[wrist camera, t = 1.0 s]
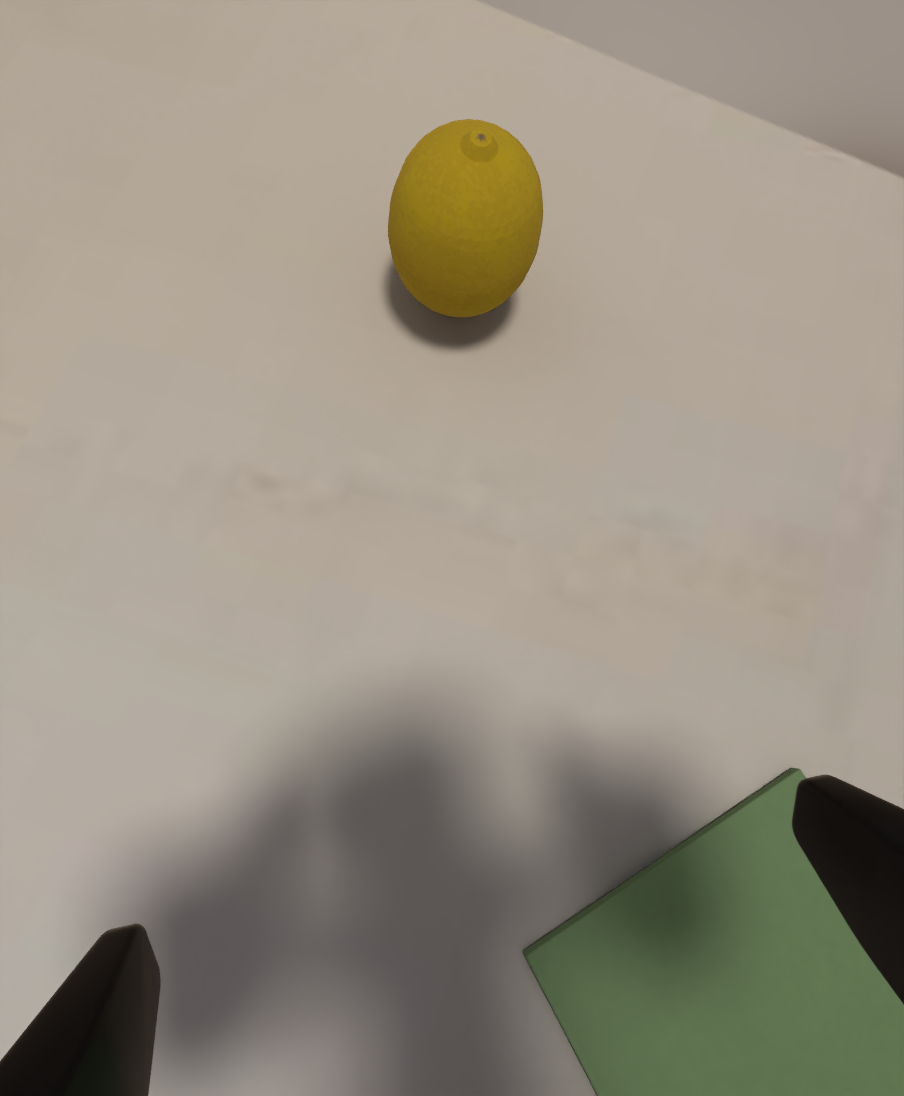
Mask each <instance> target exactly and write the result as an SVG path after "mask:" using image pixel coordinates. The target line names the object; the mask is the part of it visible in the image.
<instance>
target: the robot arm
mask: <svg viewBox="0 0 904 1096" xmlns="http://www.w3.org/2000/svg"><path fill="white" fill-rule="evenodd" d="M792 829H793V833H794V835H795V838H796V840H797V842H798V844H799V845H800V847H801V849H802V850H803V852H804V854H805V855H806V857H807V858H808V860H809V862H810V863H811V865H812V867H813V868H814V870H815V872H816V873H817V875H818V877H819V878H820V880H821V882H822V883H823V885H824V886H825V888H826V890H827V891H828V893H829V895H830V896H831V898H832V900H833V901H834V903H835V905H836V906H837V908H838V910H839V911H840V913H841V914H842V916H843V918H844V919H845V921H846V923H847V924H848V926H849V928H850V929H851V931H852V932H853V934H854V935H855V937H856V938H857V940H858V942H859V943H860V945H861V946H862V948H863V949H864V950H865V952H866V953H867V955H868V956H869V958H870V959H871V960H872V962H873V963H874V965H875V966H876V967H877V969H878V970H879V972H880V973H881V974H882V976H883V977H884V978H885V980H886V981H887V982H888V984H889V985H890V987H891V988H892V989H893V991H894V992H895V993H896V995H897V996H898V998H899V999H900V1000H901V1002H902V1003H903V1004H904V809H902V808H900V807H898V806H896V805H894V804H892V803H889V802H887V801H885V800H883V799H881V798H879V797H876V796H874V795H872V794H870V793H868V792H866V791H864V790H861V789H859V788H857V787H855V786H853V785H851V784H848V783H846V782H844V781H842V780H840V779H838V778H836V777H833V776H830V775H820V776H815V777H810V778H806V779H803V780H801V781H800V782H799V784H798V785H797V790H796V796H795V803H794V809H793V816H792ZM160 980H161V979H160V970H159V966H158V963H157V960H156V957H155V954H154V952H153V949H152V946H151V944H150V941H149V938H148V935H147V933H146V930H145V928H144V927H143V926H142V925H140V924H132V925H128V926H123V927H118V928H114V929H110V930H108V931H106V932H105V933H104V934H103V935H101V937H100V938H99V939H98V940H97V941H96V943H95V944H94V945H93V946H92V947H91V949H90V950H89V951H88V952H87V954H86V955H85V956H84V957H83V959H82V960H81V961H80V962H79V964H78V965H77V966H76V967H75V969H74V970H73V971H72V972H71V974H70V975H69V976H68V977H67V979H66V980H65V981H64V982H63V984H62V985H61V986H60V987H59V989H58V990H57V991H56V992H55V994H54V995H53V996H52V997H51V999H50V1000H49V1001H48V1002H47V1004H46V1005H45V1006H44V1007H43V1009H42V1010H41V1011H40V1012H39V1014H38V1015H37V1016H36V1017H35V1019H34V1020H33V1021H32V1022H31V1024H30V1025H29V1026H28V1027H27V1029H26V1030H25V1031H24V1032H23V1033H22V1035H21V1036H20V1037H19V1038H18V1040H17V1041H16V1042H15V1043H14V1045H13V1046H12V1047H11V1048H10V1050H9V1051H8V1052H7V1053H6V1055H5V1056H4V1057H3V1058H2V1060H1V1061H0V1096H148V1093H149V1084H150V1075H151V1066H152V1058H153V1049H154V1040H155V1031H156V1022H157V1013H158V1004H159V995H160Z"/></svg>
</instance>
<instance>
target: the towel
mask: <svg viewBox="0 0 904 1096" xmlns="http://www.w3.org/2000/svg"><path fill="white" fill-rule="evenodd" d="M803 779H806V778H805V776H804V775H803V773H802V771H801V770H800V769H796V768H791V769H790V770H789V771H787V772H786V773H784V774H783V775H781V776H780V777H778V778H777V779H775V780H774V781H772V782H771V783H769V784H768V785H766V786H765V787H764V788H762V789H761V790H759V791H758V792H756V793H755V794H753V795H752V796H750V797H749V798H747V799H746V800H744V801H743V802H742V803H740V804H739V805H737V806H736V807H734V808H733V809H731V810H730V811H728V812H727V813H725V814H724V815H722V816H721V817H720V818H718V819H717V820H715V821H714V822H712V823H711V824H709V825H708V826H706V827H705V828H703V829H702V830H700V831H699V832H697V833H696V834H695V835H693V836H692V837H690V838H689V839H687V840H686V841H684V842H683V843H681V844H680V845H678V846H677V847H675V848H674V849H673V850H671V851H670V852H668V853H667V854H665V855H664V856H662V857H661V858H659V859H658V860H656V861H655V862H653V863H652V864H650V865H649V866H648V867H646V868H645V869H643V870H642V871H640V872H639V873H637V874H636V875H634V876H633V877H631V878H630V879H628V880H627V881H626V882H624V883H623V884H621V885H620V886H618V887H617V888H615V889H614V890H612V891H611V892H609V893H608V894H606V895H605V896H604V897H602V898H601V899H599V900H598V901H596V902H595V903H593V904H592V905H590V906H589V907H587V908H586V909H584V910H583V911H581V912H580V913H579V914H577V915H576V916H574V917H573V918H571V919H570V920H568V921H567V922H565V923H564V924H562V925H561V926H559V927H558V928H557V929H555V930H554V931H552V932H551V933H549V934H548V935H546V936H545V937H543V938H542V939H540V940H539V941H537V942H536V943H535V944H533V945H532V946H530V947H529V948H527V949H526V950H524V951H523V953H524V955H525V957H526V959H527V961H528V963H529V965H530V967H531V969H532V971H533V973H534V974H535V976H536V978H537V980H538V982H539V984H540V986H541V988H542V990H543V992H544V994H545V996H546V998H547V1000H548V1001H549V1003H550V1005H551V1007H552V1009H553V1011H554V1013H555V1015H556V1017H557V1019H558V1021H559V1023H560V1025H561V1027H562V1028H563V1030H564V1032H565V1034H566V1036H567V1038H568V1040H569V1042H570V1044H571V1046H572V1048H573V1050H574V1052H575V1053H576V1055H577V1057H578V1059H579V1061H580V1063H581V1065H582V1067H583V1069H584V1071H585V1073H586V1075H587V1077H588V1079H589V1080H590V1082H591V1084H592V1086H593V1088H594V1090H595V1092H596V1094H597V1096H904V1004H903V1003H902V1002H901V1000H900V999H899V998H898V996H897V995H896V993H895V992H894V991H893V989H892V988H891V987H890V985H889V984H888V982H887V981H886V980H885V978H884V977H883V976H882V974H881V973H880V972H879V970H878V969H877V967H876V966H875V965H874V963H873V962H872V960H871V959H870V958H869V956H868V955H867V953H866V952H865V950H864V949H863V948H862V946H861V945H860V943H859V942H858V940H857V938H856V937H855V935H854V934H853V932H852V931H851V929H850V928H849V926H848V924H847V923H846V921H845V919H844V918H843V916H842V914H841V913H840V911H839V910H838V908H837V906H836V905H835V903H834V901H833V900H832V898H831V896H830V895H829V893H828V891H827V890H826V888H825V886H824V885H823V883H822V882H821V880H820V878H819V877H818V875H817V873H816V872H815V870H814V868H813V867H812V865H811V863H810V862H809V860H808V858H807V857H806V855H805V854H804V852H803V850H802V849H801V847H800V845H799V844H798V842H797V840H796V838H795V835H794V833H793V829H792V816H793V809H794V803H795V796H796V790H797V785H798V784H799V782H800V781H801V780H803Z"/></svg>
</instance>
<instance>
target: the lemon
mask: <svg viewBox="0 0 904 1096" xmlns="http://www.w3.org/2000/svg"><path fill="white" fill-rule="evenodd" d="M542 220H543V200H542V191H541V183H540V178H539V175H538V173H537V170H536V168H535V165H534V163H533V161H532V158H531V156H530V155H529V154H528V152H527V151H526V149H525V148H524V147H523V145H522V144H521V143H520V142H519V141H518V140H517V139H516V138H515V137H514V136H512V135H511V134H510V133H509V132H508V131H506V130H504V129H502V128H500V127H499V126H497V125H495V124H492V123H488V122H485V121H481V120H471V119H467V120H458V121H453V122H450V123H447V124H445V125H442V126H440V127H437V128H436V129H434V130H433V131H431V132H430V133H428V134H427V135H425V136H424V137H423V138H422V139H421V140H420V141H419V142H418V143H417V145H416V146H415V147H414V148H413V149H412V151H411V152H410V153H409V155H408V156H407V158H406V160H405V162H404V164H403V166H402V169H401V171H400V173H399V176H398V178H397V181H396V183H395V186H394V189H393V193H392V197H391V202H390V212H389V222H388V237H389V244H390V249H391V254H392V259H393V263H394V266H395V268H396V270H397V272H398V274H399V276H400V278H401V280H402V282H403V284H404V285H405V287H406V288H407V289H408V291H409V292H410V293H411V294H412V295H413V296H414V297H415V299H417V300H418V301H419V302H420V303H422V304H423V305H425V306H426V307H427V308H429V309H430V310H433V311H435V312H438V313H440V314H442V315H447V316H452V317H473V316H476V315H479V314H483V313H486V312H489V311H490V310H492V309H494V308H495V307H497V306H499V305H500V304H502V303H503V302H505V301H506V300H507V299H508V298H509V297H510V296H511V295H512V294H513V293H514V291H515V290H516V289H517V288H518V287H519V286H520V285H521V283H522V282H523V280H524V278H525V276H526V274H527V273H528V271H529V269H530V267H531V265H532V263H533V261H534V258H535V256H536V253H537V249H538V245H539V239H540V233H541V227H542Z"/></svg>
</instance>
